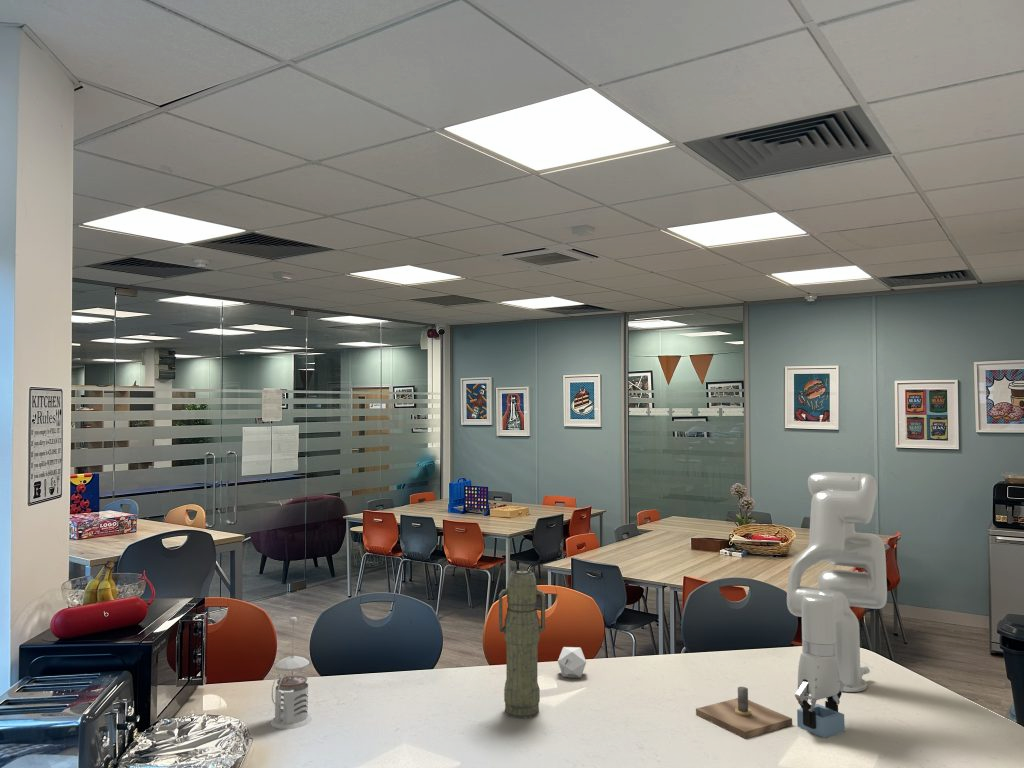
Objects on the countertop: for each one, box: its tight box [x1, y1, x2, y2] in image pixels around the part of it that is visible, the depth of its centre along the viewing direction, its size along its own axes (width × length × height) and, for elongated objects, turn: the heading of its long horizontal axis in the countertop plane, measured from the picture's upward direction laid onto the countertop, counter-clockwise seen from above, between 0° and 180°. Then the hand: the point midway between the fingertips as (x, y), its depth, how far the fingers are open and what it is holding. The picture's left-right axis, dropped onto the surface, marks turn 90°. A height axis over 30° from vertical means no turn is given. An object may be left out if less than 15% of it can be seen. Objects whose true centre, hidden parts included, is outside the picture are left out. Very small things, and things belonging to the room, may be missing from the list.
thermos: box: [498, 569, 546, 719], centre depth 185 cm, size 9×12×35 cm
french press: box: [270, 616, 313, 730], centre depth 178 cm, size 10×12×25 cm
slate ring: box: [796, 703, 846, 739], centre depth 174 cm, size 7×7×4 cm
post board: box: [695, 686, 793, 739], centre depth 179 cm, size 16×16×8 cm
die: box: [557, 646, 587, 679], centre depth 211 cm, size 8×9×10 cm
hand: (820, 722), depth 174 cm, fingers closed on slate ring, 7 cm apart
